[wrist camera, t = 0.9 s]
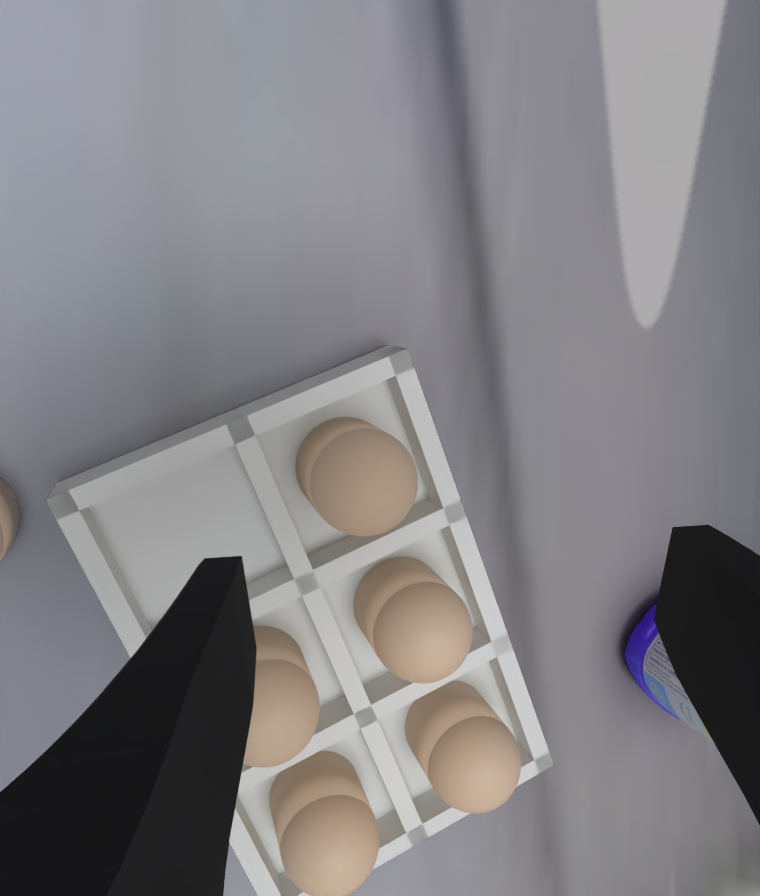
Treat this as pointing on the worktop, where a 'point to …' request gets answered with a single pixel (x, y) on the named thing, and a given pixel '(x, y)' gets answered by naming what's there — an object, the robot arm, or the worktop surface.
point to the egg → (8, 517)
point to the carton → (327, 615)
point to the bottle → (659, 673)
